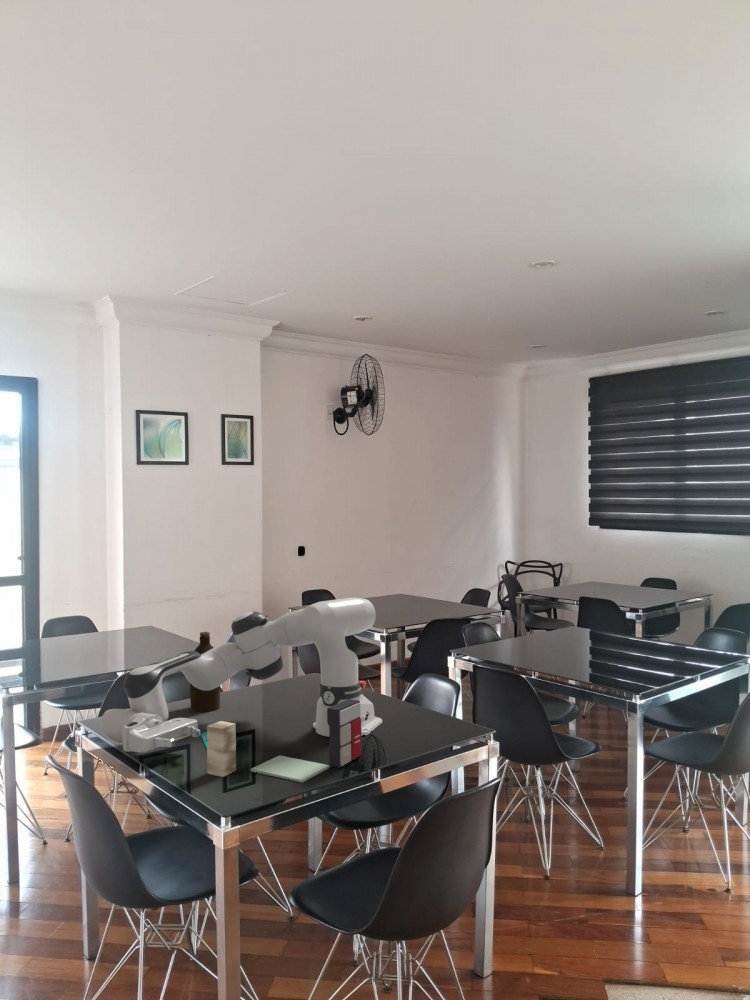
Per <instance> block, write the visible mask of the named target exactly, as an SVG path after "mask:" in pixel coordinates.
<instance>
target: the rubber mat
mask: <svg viewBox="0 0 750 1000" xmlns="http://www.w3.org/2000/svg"><path fill="white" fill-rule="evenodd" d="M330 767H331V766H330V764H324V763H319V762H315V761H309V760H305V759H299V758H295V757H288V756H284V755H280V754H279V755H278V756H275V757H273V758H271V759H269V760H266V761H264V762H262V763H261V764H258V765H256V766H254V767H252V768H250V772H252V773H256V772H257V773H256V774H260V775H265V776H271V777H275V778H280V779H285V780H288V779H289V781H294V782H298V783H305V782H306V781H307V780H310V779H311V778H313V777H315V776H317V775H319V774H321V773H322V772H324V771H326V770H329V768H330Z"/></svg>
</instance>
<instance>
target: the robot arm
mask: <svg viewBox="0 0 750 1000" xmlns="http://www.w3.org/2000/svg"><path fill="white" fill-rule="evenodd" d="M376 619H377V618H376V609H375V606H374V605H373V603H372V602H371V601H370V600H369V599H366V598H361V597H353V596H352V597H345V598H344V597H343V598H339V599H331V600H330V599H329V600H324V601H323V600H322V601H318V602H315V603H311V604H310V605H307V606H306V607H305V608H304V607H303V608H301V609H297V610H293V611H290V612H288V613H285V614H283V615H281V616H279V617H278V618H276V619H274V620H270V615H265V614H263V613H262V612H258V611H247V612H243V613H241V614H240V615H238V616H237V617H236V618H235V620H233V621H232V622H231V632H232V635H233V636H234V640H235V641H236V643H235V642H225V643H221V644H220V645H219V644H218V645H217V646H215V647H214V646H213V647H214V648H212V649H210V650H209V651H207V652H205V653H204V654H199V653H198V652H195V651H194V650H193V651H192V650H191V651H184V652H181V653H178V654H177V653H176V654H175V655H174V654H173V655H171V656H169V657H166V658H164V659H161V660H159V661H156V662H153V663H150V664H145V665H142V666H138V667H135V668H133V669H131V670H129V671H128V673H127V674H126V676H125V678H124V680H123V682H122V686H123V690H124V691H125V695H126V696H127V699H128V703H129V707H130V708H112V709H111V708H110V709H107V710H106V711H104V713H103V714H102V716H101V718H100V731H101V733H102V735H103V736H104V737H105V738H106V739H108V740H111V741H113V742H116V743H119V744H120V743H121V744H122V750H123V751H124V752H127V753H128V752H134V753H138V754H139V753H148V752H149V751H152V750H154V749H158V748H171V747H174V746H175V742H176V741H178V740H182V739H185V738H187V737H192V738H198V737H200V736H201V729H199V726H198V720H197V719H195V718H187V717H176V718H171V719H169V717H170V713H169V708H168V704H167V700H166V697H165V693H164V690H163V689H164V688H163V679H164V678H165V677H167V676H170V675H173V674H175V673H178V672H180V671H181V673H182V674H183V676H185V678H186V680H187V681H188V682H189V684H190V683H191V684H192V685H193V686H194V687H196V688H198V689H200V690H205V691H208V690H212V689H215V688H217V687H218V686H220V687H221V685H223V684H224V683H226V682H227V681H228V680H230V679H231V678H232V677H234V676H235V675H236V674H237V673H239V672H241V671H243V670H246V672H245V673H244V675H245V676H246V677H249V676H250V677H252V678H253V679H255V680H258V681H263V680H269V679H272V678H274V677H275V676H277V675H278V674H279V673H280V672H281V671H282V669H283V668H284V662H283V657H282V656H281V654H280V651H279V648H278V646H279V647H286V648H295V647H296V648H297V647H302V646H306V645H311V644H314V645H315V647H316V649H317V652H318V655H319V661H320V662H319V664H320V683H319V688H318V691H319V697H320V698H318V700H317V702H316V714H315V722H313V724H312V728H313V729H314V730H315V732H316V734H318V735H320V736H323V737H328V738H329V725H328V723H327V709H328V708H329V707H331V706H334V705H336V704H338V703H341V702H343V701H345V700H347V699H352V700H359V701H360V711H361V715H360V718H361V737H362V736H363V735H365V736H368V735H369V734H370V733H372V732H371V731H374V730H375V729H376V728H378V726H380V725H381V724H382V723H383V719H382V718H381V717H378V716H375V708H374V707H375V706H374V704H373V703H372V702H371V701H370V700H369V699H368V698H367V697H366V696H364V694H363V691H362V689H365V688H366V686H367V683H366V681H365V680H364V681H362V680H359V658H358V656H357V654H356V653H355V652H354V651H352V650H351V649H350V648H348V645H347V643H346V637H348V636H353V635H358V634H362V633H363V632H365V631H367V630H370V629H371V628H372V627H373V626H374V624H375V622H376ZM277 645H278V646H277ZM363 737H364V736H363Z"/></svg>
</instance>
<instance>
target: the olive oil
mask: <svg viewBox="0 0 750 1000" xmlns="http://www.w3.org/2000/svg"><path fill="white" fill-rule="evenodd" d="M210 634H211V633H210V632H209V631H200V632H199V644H198V646H197V647H195V649H194V650H193V651H195V652H198V653H199V654H204V653H205V652H207V651H209V650H210V649H212V648H214V646H213V645H212V644H211V636H210ZM189 695H190V709H191V711H194V712H200V713H203V712H205V713H207V712H212V711H213V712H214V711H216V710H218V709H220V707H221V685H220V686H218V687H217V688H215V689H212V690H208V691H205V690H200V689H198V688H196V687H194V686H193V685H192V684H191V683H190V682H189Z"/></svg>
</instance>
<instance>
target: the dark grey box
mask: <svg viewBox="0 0 750 1000" xmlns="http://www.w3.org/2000/svg"><path fill="white" fill-rule="evenodd" d="M360 715H361V711H360V701H359V700H352V699H347V700H345V701H343V702H341V703H338V704H336V705H334V706H331V707H329V708H328V709H327V723H328V725H329V737H328V738H329V739H328V741H329V744H328V745H329V746H328V747H329V749H328V751H329V765H330V767H331V768H337V769H341V768H342V767H344V766H346V765H348V764H349V763H351V762H352V760H353V761H354V759H355V760H356V759H358V758H360V757H361V756H362V736H361V718H360ZM359 756H360V757H359ZM357 757H358V758H357ZM350 761H351V762H350ZM347 763H348V764H347ZM345 764H346V765H345Z"/></svg>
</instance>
